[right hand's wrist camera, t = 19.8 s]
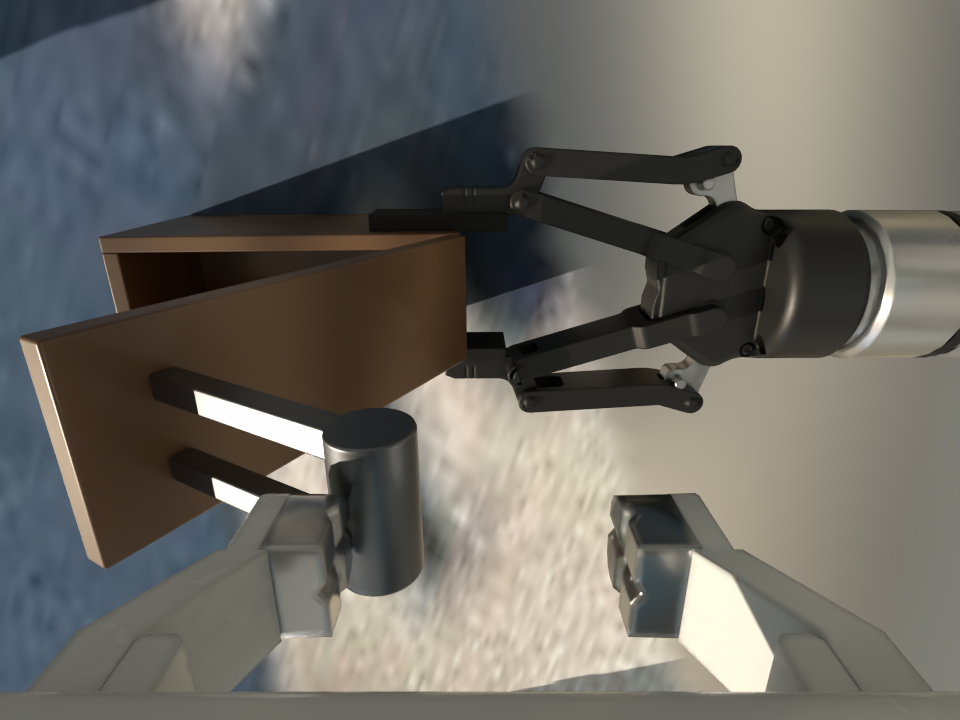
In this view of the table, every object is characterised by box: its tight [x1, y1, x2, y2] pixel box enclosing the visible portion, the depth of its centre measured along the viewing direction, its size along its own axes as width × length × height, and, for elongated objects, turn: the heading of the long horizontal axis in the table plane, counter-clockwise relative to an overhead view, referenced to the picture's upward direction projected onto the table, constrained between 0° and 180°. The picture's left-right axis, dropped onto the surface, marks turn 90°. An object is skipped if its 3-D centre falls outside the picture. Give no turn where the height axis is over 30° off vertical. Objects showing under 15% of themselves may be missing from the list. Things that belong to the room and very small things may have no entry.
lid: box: [20, 235, 467, 596], centre depth 18 cm, size 17×6×8 cm
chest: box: [99, 214, 461, 313], centre depth 31 cm, size 16×6×8 cm, turn 90°
